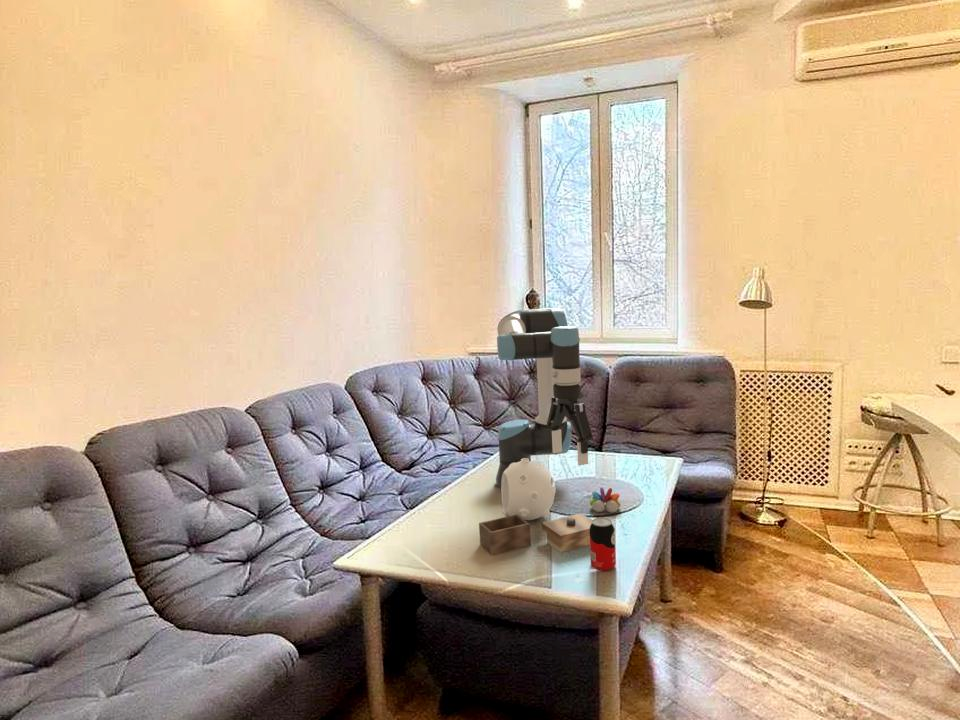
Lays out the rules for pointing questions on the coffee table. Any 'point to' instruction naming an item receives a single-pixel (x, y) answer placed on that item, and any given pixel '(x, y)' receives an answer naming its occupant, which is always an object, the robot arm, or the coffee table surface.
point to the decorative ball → (527, 490)
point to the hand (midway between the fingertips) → (569, 458)
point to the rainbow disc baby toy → (610, 500)
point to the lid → (568, 527)
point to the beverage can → (602, 544)
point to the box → (504, 534)
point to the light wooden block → (567, 543)
